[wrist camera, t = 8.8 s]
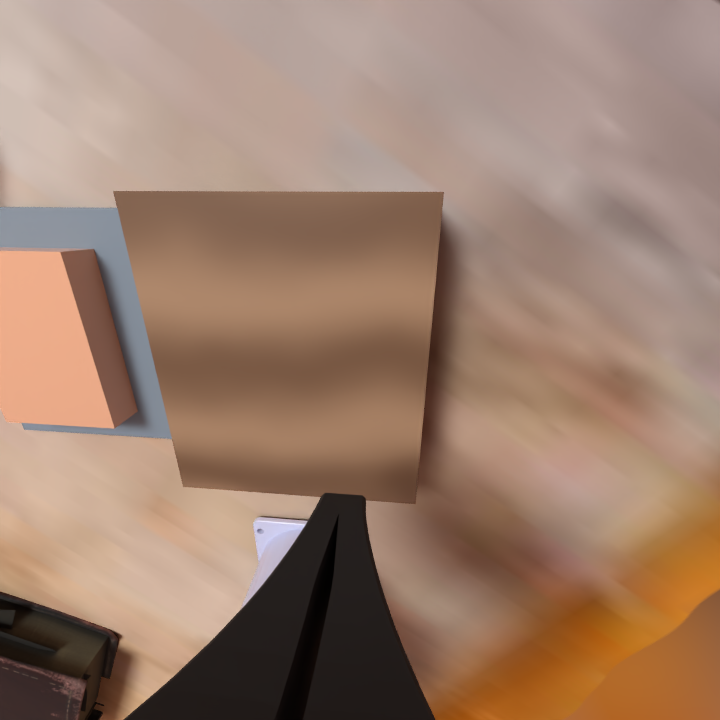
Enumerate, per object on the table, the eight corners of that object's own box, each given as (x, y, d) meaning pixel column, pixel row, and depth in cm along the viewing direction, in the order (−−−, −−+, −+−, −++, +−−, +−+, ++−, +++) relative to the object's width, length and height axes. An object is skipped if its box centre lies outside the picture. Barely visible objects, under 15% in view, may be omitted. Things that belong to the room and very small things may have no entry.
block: (6, 421, 21) (38, 405, 23) (114, 428, 20) (137, 411, 22) (-71, 249, 17) (-25, 246, 19) (60, 251, 16) (93, 248, 18)
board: (411, 456, 22) (415, 504, 18) (217, 444, 23) (183, 486, 19) (432, 198, 16) (443, 192, 13) (172, 197, 17) (113, 191, 14)
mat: (208, 437, 23) (205, 441, 22) (29, 426, 24) (24, 429, 23) (165, 208, 18) (160, 208, 17) (-62, 207, 19) (-71, 206, 18)
